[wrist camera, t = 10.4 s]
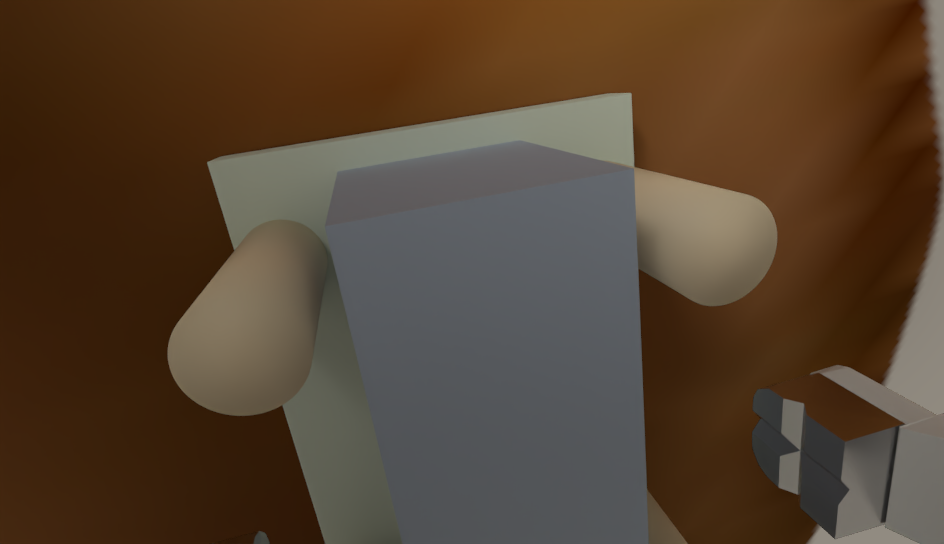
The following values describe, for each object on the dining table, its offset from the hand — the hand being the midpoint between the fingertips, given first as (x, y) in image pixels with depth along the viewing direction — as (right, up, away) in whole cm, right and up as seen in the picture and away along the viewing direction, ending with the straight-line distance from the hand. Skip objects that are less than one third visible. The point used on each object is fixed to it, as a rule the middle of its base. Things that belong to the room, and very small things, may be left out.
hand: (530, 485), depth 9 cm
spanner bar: (-1, +1, +3) cm, 3 cm away
